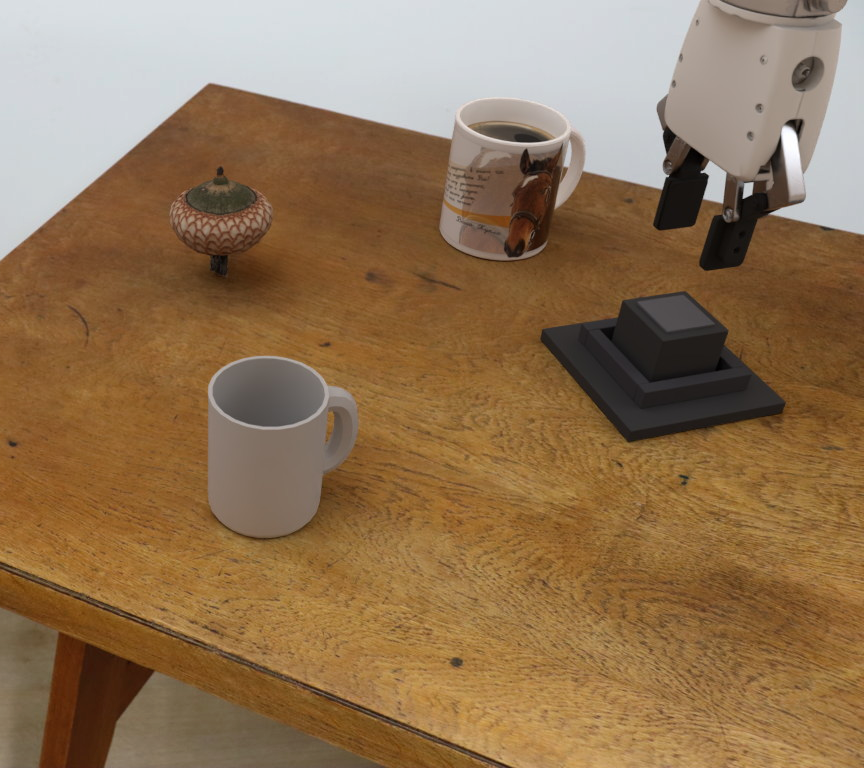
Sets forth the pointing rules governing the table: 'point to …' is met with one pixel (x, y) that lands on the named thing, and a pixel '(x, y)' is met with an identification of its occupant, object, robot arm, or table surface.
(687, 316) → the small cube
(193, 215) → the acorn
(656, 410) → the base pad
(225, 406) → the cup
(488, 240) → the mug
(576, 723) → the table surface
